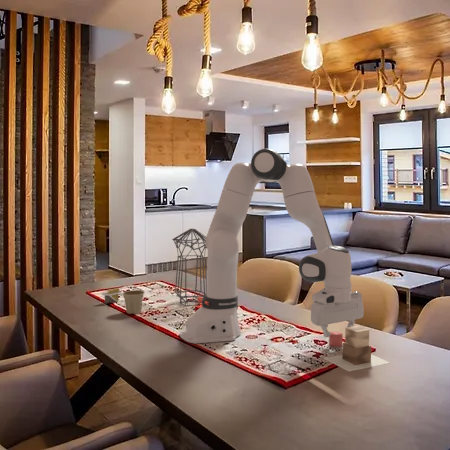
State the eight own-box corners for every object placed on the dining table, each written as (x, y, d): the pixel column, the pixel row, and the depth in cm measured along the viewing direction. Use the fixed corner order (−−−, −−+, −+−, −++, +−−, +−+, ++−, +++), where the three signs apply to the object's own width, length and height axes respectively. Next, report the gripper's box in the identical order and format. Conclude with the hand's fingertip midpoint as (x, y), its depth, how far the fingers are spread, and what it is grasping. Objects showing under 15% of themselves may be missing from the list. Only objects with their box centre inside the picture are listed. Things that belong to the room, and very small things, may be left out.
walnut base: (355, 365, 147) (355, 349, 146) (342, 358, 152) (342, 343, 152) (370, 362, 149) (371, 346, 149) (357, 356, 155) (357, 340, 154)
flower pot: (118, 313, 209) (117, 293, 208) (130, 308, 218) (130, 289, 217) (137, 316, 206) (136, 295, 205) (148, 310, 214) (148, 291, 214)
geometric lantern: (170, 301, 232) (171, 227, 230) (201, 299, 238) (202, 227, 236) (179, 308, 217) (180, 229, 215) (213, 306, 223) (214, 229, 221)
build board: (348, 375, 142) (348, 371, 142) (323, 362, 153) (323, 358, 153) (390, 366, 149) (390, 362, 149) (363, 354, 160) (363, 350, 160)
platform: (136, 301, 233) (136, 287, 232) (105, 309, 219) (105, 294, 218) (119, 297, 240) (119, 284, 240) (89, 304, 226) (88, 290, 226)
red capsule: (334, 350, 163) (334, 336, 163) (326, 347, 167) (326, 332, 167) (345, 349, 165) (345, 334, 165) (336, 345, 169) (336, 331, 168)
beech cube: (345, 343, 151) (345, 327, 151) (357, 341, 154) (358, 325, 153) (356, 348, 147) (356, 331, 146) (368, 345, 149) (369, 329, 149)
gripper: (355, 289, 172) (355, 327, 174) (307, 296, 163) (308, 336, 164) (368, 292, 167) (367, 332, 168) (319, 299, 158) (319, 341, 159)
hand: (337, 334), depth 166 cm, fingers open, 8 cm apart
